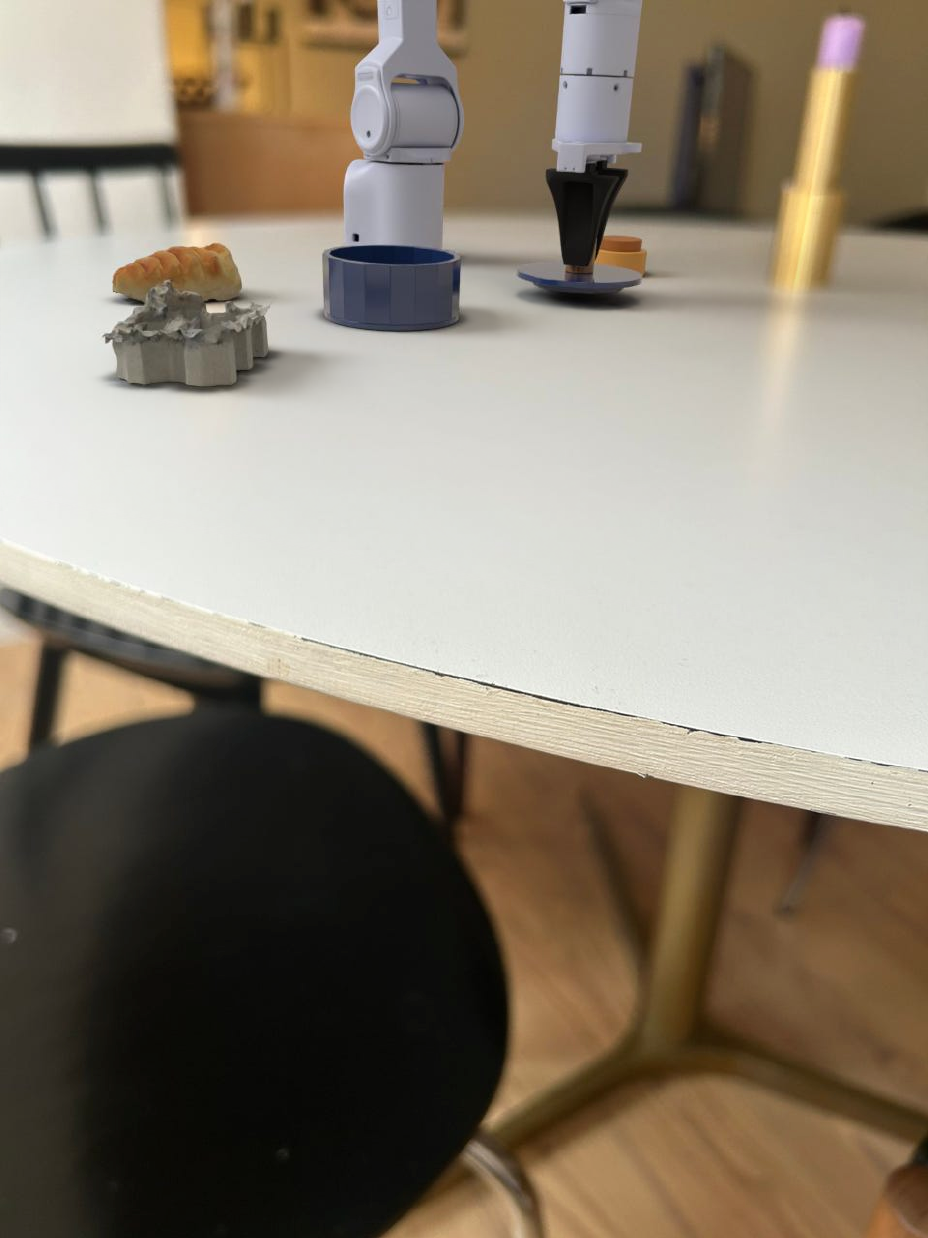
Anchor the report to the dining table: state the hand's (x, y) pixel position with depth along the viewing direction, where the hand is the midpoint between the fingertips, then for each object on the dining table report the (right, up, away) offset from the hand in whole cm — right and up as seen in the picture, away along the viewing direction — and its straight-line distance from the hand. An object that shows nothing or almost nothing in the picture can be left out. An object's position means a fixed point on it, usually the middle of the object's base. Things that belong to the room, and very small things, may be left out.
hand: (579, 262), depth 81 cm
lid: (0, -1, +1) cm, 1 cm away
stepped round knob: (+5, +4, +14) cm, 15 cm away
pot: (-15, -7, -9) cm, 19 cm away
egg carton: (-26, -15, -23) cm, 38 cm away
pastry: (-32, -5, -5) cm, 32 cm away
